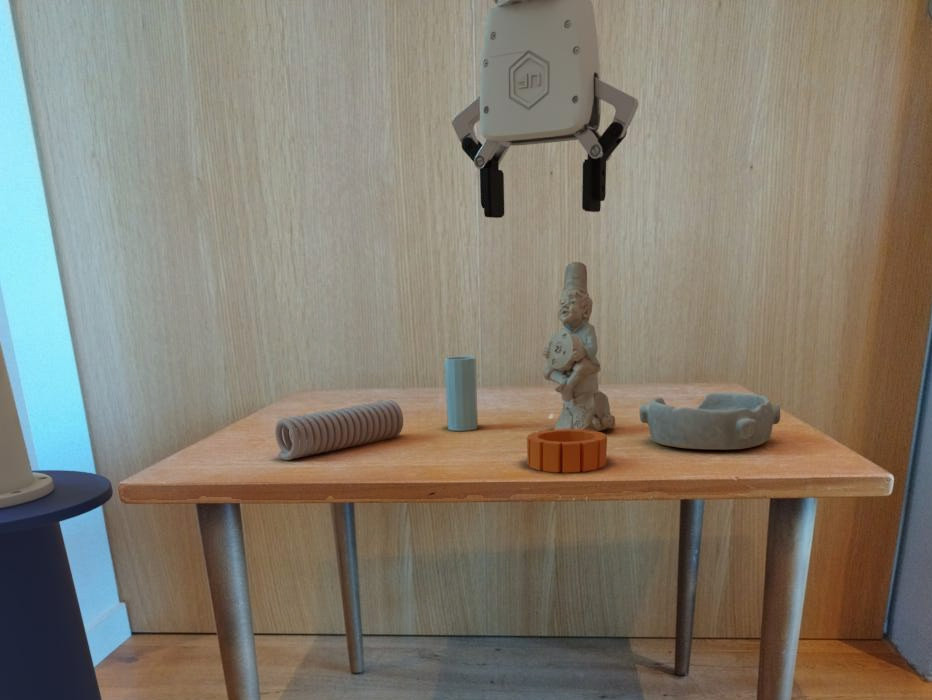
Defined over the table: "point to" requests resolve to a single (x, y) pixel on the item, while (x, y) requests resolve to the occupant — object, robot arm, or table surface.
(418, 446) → the table surface
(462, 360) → the tumbler
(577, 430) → the ring
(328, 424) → the coil
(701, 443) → the dish
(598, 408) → the figurine
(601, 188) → the robot arm
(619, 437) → the table surface
